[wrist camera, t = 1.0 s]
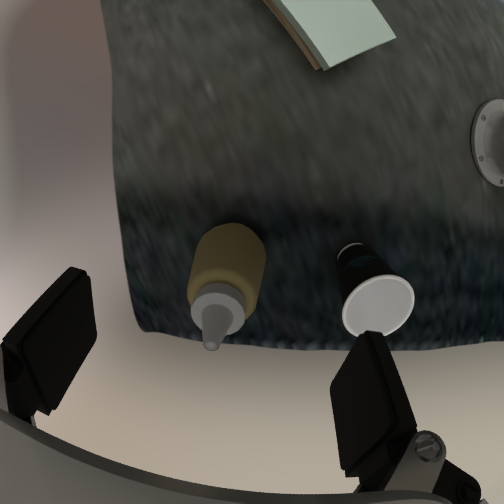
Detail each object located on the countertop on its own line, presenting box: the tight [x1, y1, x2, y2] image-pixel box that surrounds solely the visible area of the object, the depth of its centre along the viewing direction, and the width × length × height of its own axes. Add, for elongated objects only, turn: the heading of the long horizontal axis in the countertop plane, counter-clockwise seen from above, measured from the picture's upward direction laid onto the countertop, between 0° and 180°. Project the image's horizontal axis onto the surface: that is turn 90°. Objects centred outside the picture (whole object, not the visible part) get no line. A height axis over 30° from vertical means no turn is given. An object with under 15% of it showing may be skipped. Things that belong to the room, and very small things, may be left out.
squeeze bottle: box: [187, 222, 267, 351], centre depth 30 cm, size 8×8×18 cm
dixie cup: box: [336, 243, 414, 337], centre depth 33 cm, size 8×8×11 cm
